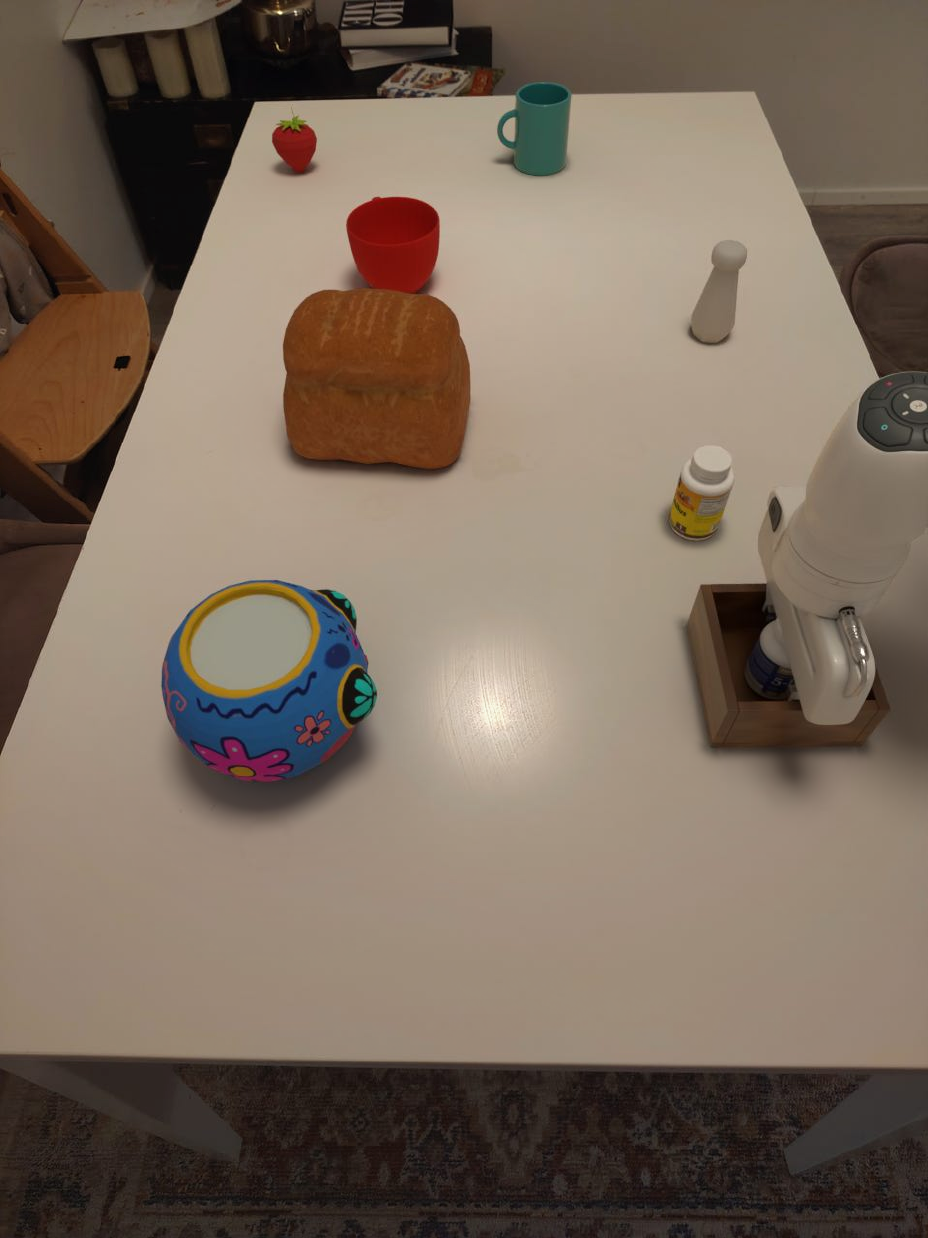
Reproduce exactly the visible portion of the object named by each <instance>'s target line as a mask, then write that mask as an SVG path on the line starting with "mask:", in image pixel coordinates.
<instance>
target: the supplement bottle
mask: <svg viewBox="0 0 928 1238" xmlns="http://www.w3.org/2000/svg"><path fill="white" fill-rule="evenodd" d="M732 464H733V458H732V455H731V454H730V452H728V450H726V449H724V448H723V447H721V446H718V445H712V444H710V445H709V444H707V445H702V446H700V447H698V448H697V449H696V450H695V451H694V453H693V454H692V458H690V459H688V460H687V461H685V463H684V464H683V465H682V467H681V470H680V473H679V477H678V480H677V484H676V489H675V492H674V496H673V500H672V504H671V507H670V511H669V515H668V522H669V523H668V524H669V526H670V528H671V530H672V531H673V532H674V533H675V534H676V535H678V536H679V537H681V538H683V539H686V540H689V541H698V542H699V541H705V540H707V539H709V538H711V537H713V536H714V535H715V534H716V532H717V531H718V530H719V526H720V524H721V521H722V518H723V515H724V513H725V510H726V507H727V505H728V504H727V503H728V501H729V498H730V495H731V492H732V490H733V486H734V484H735V473H734V469H732Z"/></svg>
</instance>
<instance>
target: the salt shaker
mask: <svg viewBox="0 0 928 1238" xmlns="http://www.w3.org/2000/svg"><path fill="white" fill-rule="evenodd" d="M710 259H711V260H710V261H711V264H712V266H713V268H712V270H711V272H710V274H709V276H708V278H707V281H706V283H705V285H704V287H703V289H702V292H701V293H700V295H699V298H698V300H697V303H696V304H695V307H694V309H693V310H692V312H691V315H690V316H691V317H690V326H691V331H692V335H693V336H694V337H695V338H696V339H697V340H699V341H700V342H701V343H708V344H717V343H719V342H721V341H722V340H724V339H725V338H726V337H727V336H728V334H730V332H732V330H733V328H734V327H735V325H736V324H735V323H736V311H737V298H738V286H739V274H740V272H739V271H740V269H742V268H743V267H744V265H746V262H747V259H748V249H747V247H746V246H745V245H744V243H742V242H740V241H738V240H733V239H725V240H721V241H719V242H717V244H715V246H713V249H712V251H711V258H710Z"/></svg>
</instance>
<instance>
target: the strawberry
mask: <svg viewBox="0 0 928 1238" xmlns="http://www.w3.org/2000/svg"><path fill="white" fill-rule="evenodd" d="M290 109H291V114H292V115H293V117H292V118H291V120H284V119H281V120H279V123H276V124H275V126H277V127H275V129H274V130H273V132H272V133H271V143H272V146H273V147H274V149H275V151H276V154H277V155H278V156H279V157H280V158H281V159H282V160H283V161H284V162H285V164H287V165H288V166H289V167H290V168H291V169H292V170H293V171H294V172H295V173H297V174H303V173H304V172H305V171H306V169H307V167H309V165H310V163H311V162H312V159H313V157H314V155H315V153H316V151H317V142H318V139H317V135H316V132H315V130H314V129H313V128H311V127H310V126H309V125H308V124H307V123H306V122H307V120H304V119H299V117H300V115H296V116H295V114H294V111H293V108H292V107H290Z"/></svg>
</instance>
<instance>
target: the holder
mask: <svg viewBox="0 0 928 1238" xmlns="http://www.w3.org/2000/svg"><path fill="white" fill-rule="evenodd" d="M766 587H767V582H765V583H761V582H760V583H709V584H707V583H705V584H703V583H702V584H699V588H698V591H697V594H696V597H695V599H694V603H693V605H692V608H691V611H690V614H689V617H688V619H687V622H686V630H687V635H688V642H689V646H690V651H691V656H692V660H693V665H694V672H695V676H696V681H697V686H698V691H699V697H700V701H701V706H702V707H701V708H702V711H703V717H704V722H705V728H706V732H707V737H708V740H709V747H710V748H772V747H773V748H774V747H776V748H780V747H781V748H782V747H786V748H787V747H788V748H789V747H862V746H863V745H864V743H865V742H866V741H867V740H868V739H869V738H870V736H871V735H872V734H873V732H874V731H875V730H876V728H878V726H879V725H880V724H881V722H882V721H883V720H884V719H885V717H886V716H887V715H888V714H889V712H890V711H892V710H891V706H890V703H889V700H888V697H887V694H886V692H885V688H884V686H883V683H882V681H881V677H880V675H879V671H878V668H877V666H876V665H875V677H874V681H873V684H872V687H871V689H870V691H869V693H868V696H867V698H866V700H865V702H864V703H863V705H862V707H861V709H860V711H859V712H858V714H857V715H856V717H855V719H854V720H853V721H852V722H850V723H847V724H840V725H819V724H814V723H811V722H809V721H807V720H806V718H805V716H804V714H803V710H802V706H801V702H800V701H787V700H786V699H780V700H773V699H768V698H765V697H763V696H761V695H759V694H757V693H756V692H755V691H753V690H752V689H751V687H750V686H749V685H748V683H747V681H746V679H745V675H744V669H745V665H746V663H747V661H748V659H749V657H750V655H751V652H752V650H753V649H754V646H755V644H756V642H757V640H758V638H759V636H760V634H761V632H762V631H763V629H764V628H765V627H766V626H767V625H768V624H769V623H766V621H765V618H764V615H763V611H762V608H763V606H764V603H765V601H766Z"/></svg>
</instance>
